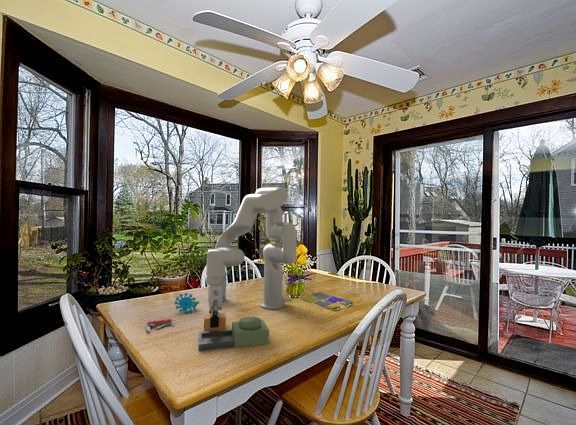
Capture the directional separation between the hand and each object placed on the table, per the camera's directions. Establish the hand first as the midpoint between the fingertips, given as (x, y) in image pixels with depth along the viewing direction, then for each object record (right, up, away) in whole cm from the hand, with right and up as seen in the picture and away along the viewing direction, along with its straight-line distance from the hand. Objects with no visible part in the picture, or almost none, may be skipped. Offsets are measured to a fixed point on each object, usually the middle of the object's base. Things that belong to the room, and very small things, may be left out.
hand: (213, 322), depth 116 cm
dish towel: (+51, -5, +39) cm, 64 cm away
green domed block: (+16, -3, -10) cm, 19 cm away
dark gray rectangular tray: (+4, -2, -13) cm, 14 cm away
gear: (-17, -2, +18) cm, 25 cm away
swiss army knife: (-21, -2, +1) cm, 21 cm away
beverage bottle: (-7, -2, +37) cm, 37 cm away
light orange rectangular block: (0, -2, 0) cm, 2 cm away
